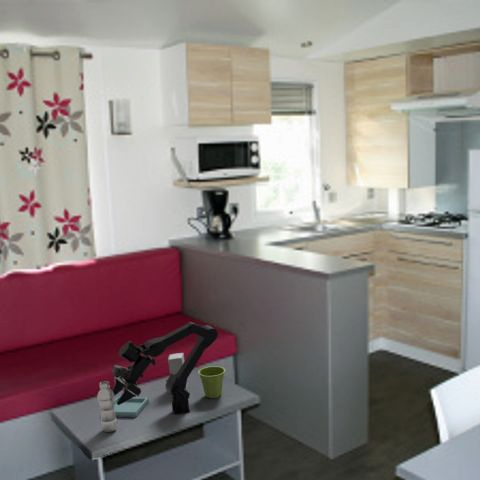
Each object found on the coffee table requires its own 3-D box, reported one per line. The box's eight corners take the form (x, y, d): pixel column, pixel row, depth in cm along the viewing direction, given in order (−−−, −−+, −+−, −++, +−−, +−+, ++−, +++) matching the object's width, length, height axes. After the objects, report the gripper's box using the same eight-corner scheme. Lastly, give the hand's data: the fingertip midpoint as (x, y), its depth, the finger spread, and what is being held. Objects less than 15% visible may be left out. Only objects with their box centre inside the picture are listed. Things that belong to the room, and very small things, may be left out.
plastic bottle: (114, 434, 262) (109, 386, 259) (98, 433, 264) (93, 386, 260) (121, 426, 269) (115, 379, 265) (105, 426, 270) (99, 379, 267)
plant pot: (210, 403, 285) (208, 378, 283) (195, 395, 294) (192, 371, 292) (232, 394, 292) (230, 370, 290) (216, 387, 301) (214, 364, 299)
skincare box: (186, 391, 299) (183, 358, 296) (170, 393, 299) (167, 359, 297) (188, 384, 307) (185, 351, 305) (172, 385, 308) (169, 353, 305)
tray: (148, 402, 291) (148, 397, 290) (136, 417, 277) (135, 412, 276) (117, 401, 294) (117, 397, 294) (103, 416, 280) (103, 411, 280)
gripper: (116, 351, 273) (92, 383, 270) (130, 364, 257) (105, 398, 254) (136, 365, 278) (113, 397, 275) (151, 379, 262) (127, 412, 259)
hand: (114, 400), depth 266 cm, fingers open, 9 cm apart
